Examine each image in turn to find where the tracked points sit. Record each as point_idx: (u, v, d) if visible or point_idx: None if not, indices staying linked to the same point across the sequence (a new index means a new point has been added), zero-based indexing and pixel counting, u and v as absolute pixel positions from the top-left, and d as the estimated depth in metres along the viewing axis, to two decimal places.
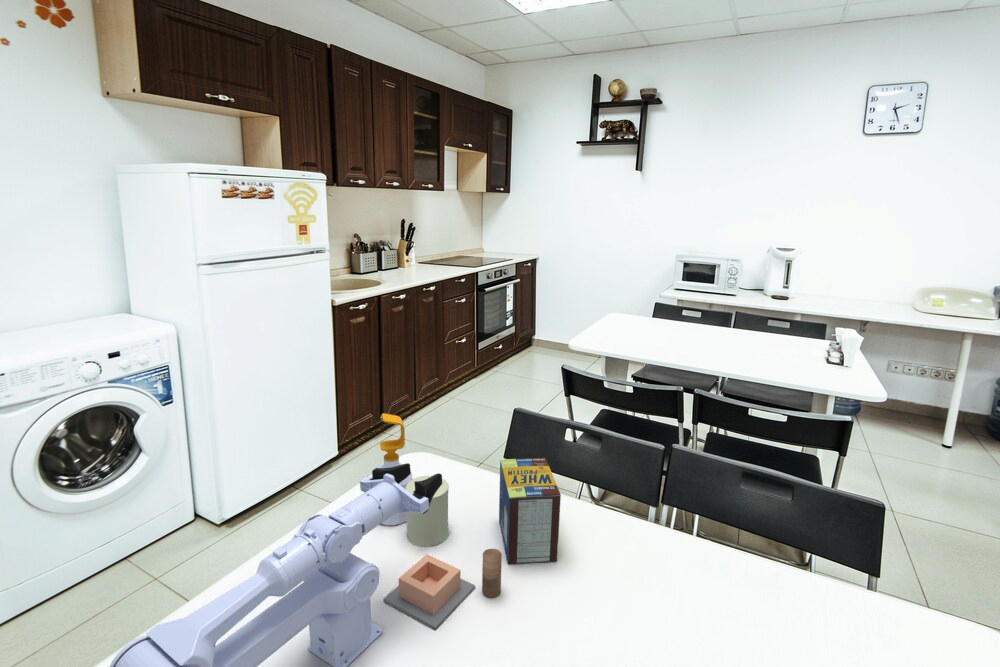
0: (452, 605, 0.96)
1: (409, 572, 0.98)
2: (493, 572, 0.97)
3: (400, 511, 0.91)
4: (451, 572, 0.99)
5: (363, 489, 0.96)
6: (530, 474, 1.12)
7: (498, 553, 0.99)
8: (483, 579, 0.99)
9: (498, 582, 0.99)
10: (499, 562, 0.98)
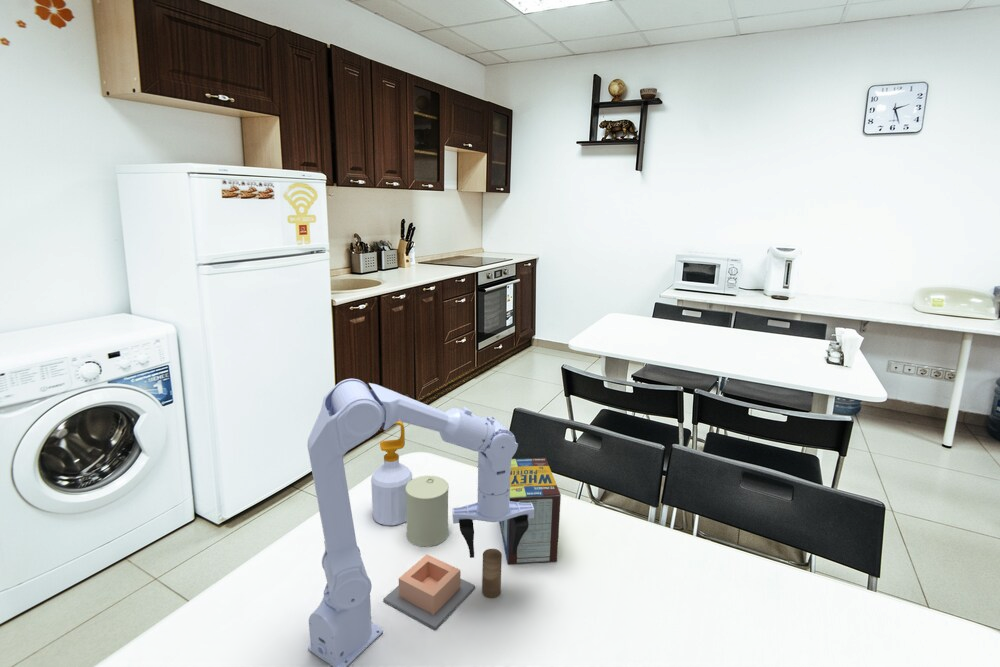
0: (452, 605, 0.96)
1: (409, 572, 0.98)
2: (493, 572, 0.97)
3: (508, 514, 0.94)
4: (451, 572, 0.99)
5: None
6: (530, 474, 1.12)
7: (498, 553, 0.99)
8: (483, 579, 0.99)
9: (498, 582, 0.99)
10: (499, 562, 0.98)
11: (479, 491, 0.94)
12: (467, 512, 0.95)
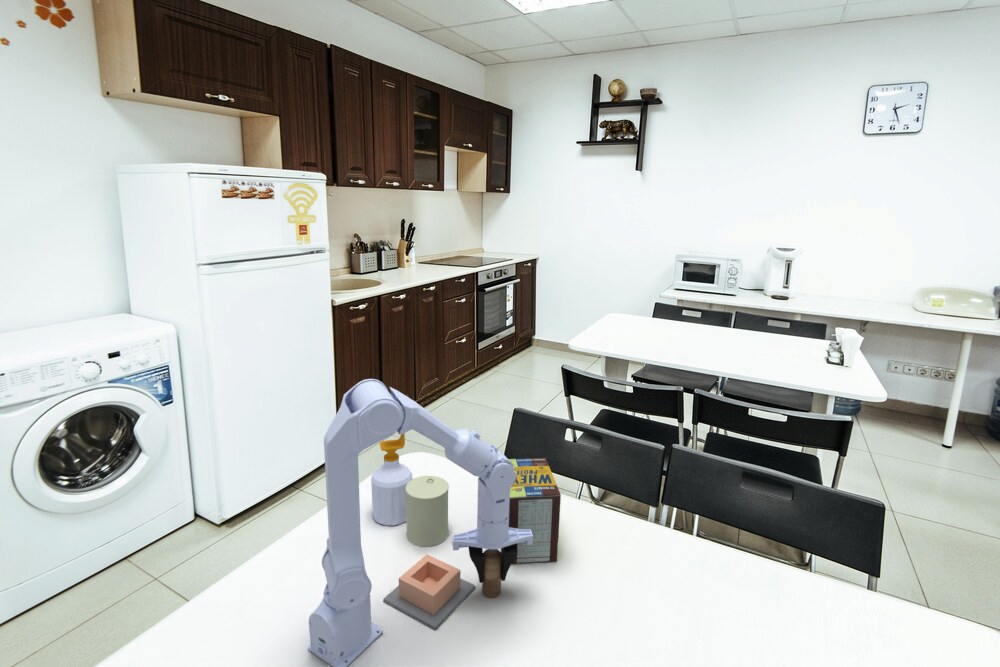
0: (452, 605, 0.96)
1: (409, 572, 0.98)
2: (493, 572, 0.97)
3: (507, 541, 0.96)
4: (451, 572, 0.99)
5: None
6: (530, 474, 1.12)
7: (498, 553, 0.99)
8: (483, 579, 0.99)
9: (498, 582, 0.99)
10: (499, 562, 0.98)
11: (479, 519, 0.95)
12: (467, 539, 0.96)
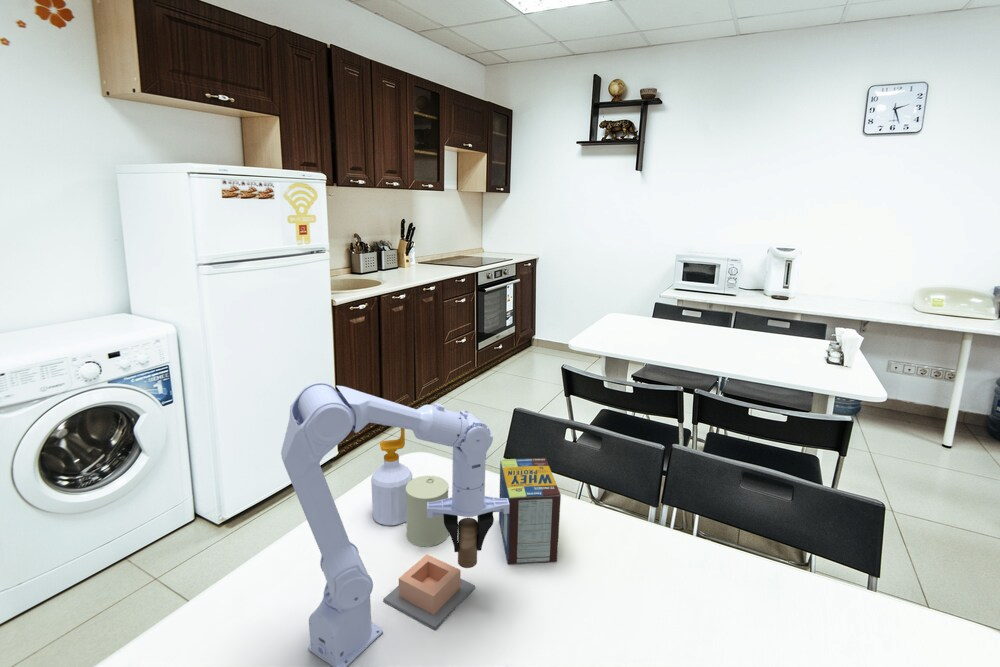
0: (452, 605, 0.96)
1: (409, 572, 0.98)
2: (468, 541, 0.95)
3: (482, 508, 0.93)
4: (451, 572, 0.99)
5: None
6: (530, 474, 1.12)
7: (474, 522, 0.96)
8: (459, 548, 0.97)
9: (474, 552, 0.96)
10: (475, 531, 0.95)
11: (453, 485, 0.93)
12: (441, 506, 0.94)
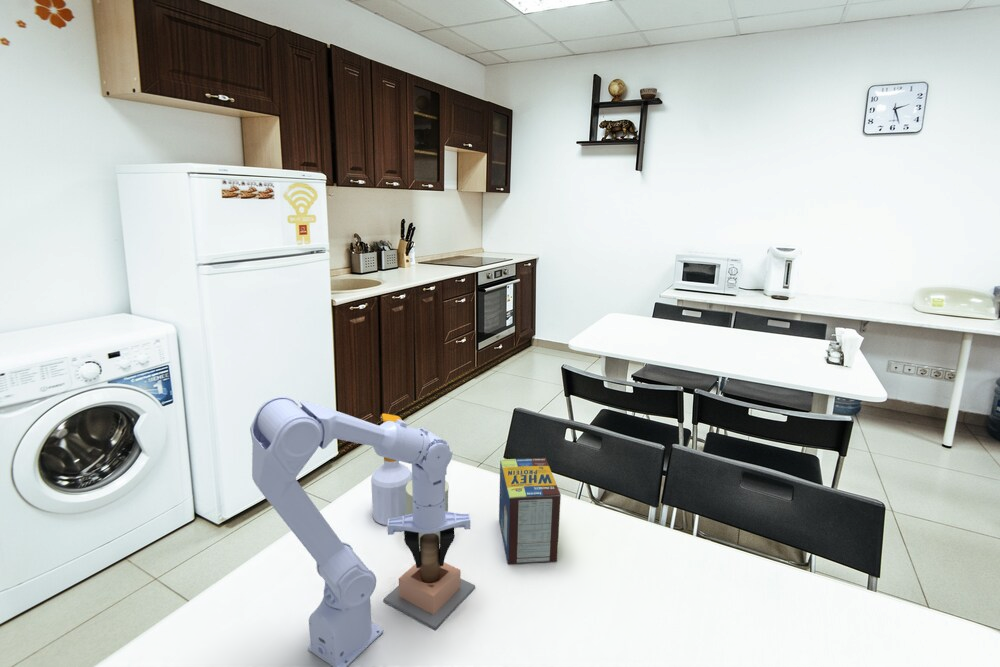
0: (452, 605, 0.96)
1: (409, 572, 0.98)
2: (430, 557, 0.95)
3: (443, 525, 0.94)
4: (451, 572, 0.99)
5: None
6: (530, 474, 1.12)
7: (436, 538, 0.97)
8: (420, 564, 0.97)
9: (436, 567, 0.96)
10: (436, 546, 0.95)
11: (413, 502, 0.93)
12: (402, 523, 0.94)
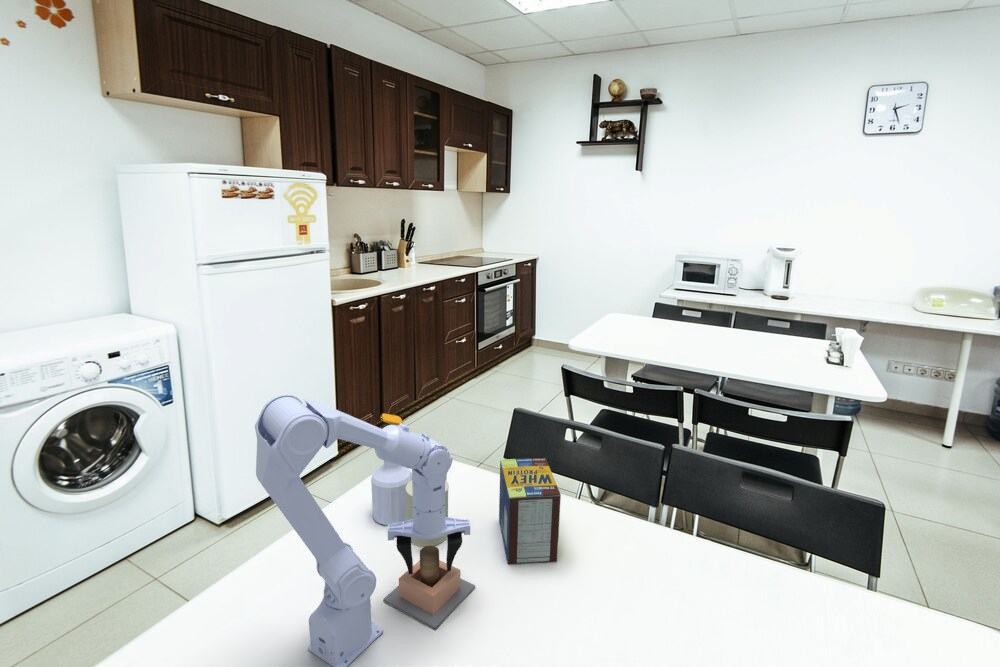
0: (452, 605, 0.96)
1: None
2: (430, 569, 0.96)
3: (443, 531, 0.94)
4: (451, 572, 0.99)
5: None
6: (530, 474, 1.12)
7: (435, 550, 0.97)
8: (421, 576, 0.97)
9: (436, 579, 0.97)
10: (436, 559, 0.96)
11: (413, 508, 0.93)
12: (402, 529, 0.94)
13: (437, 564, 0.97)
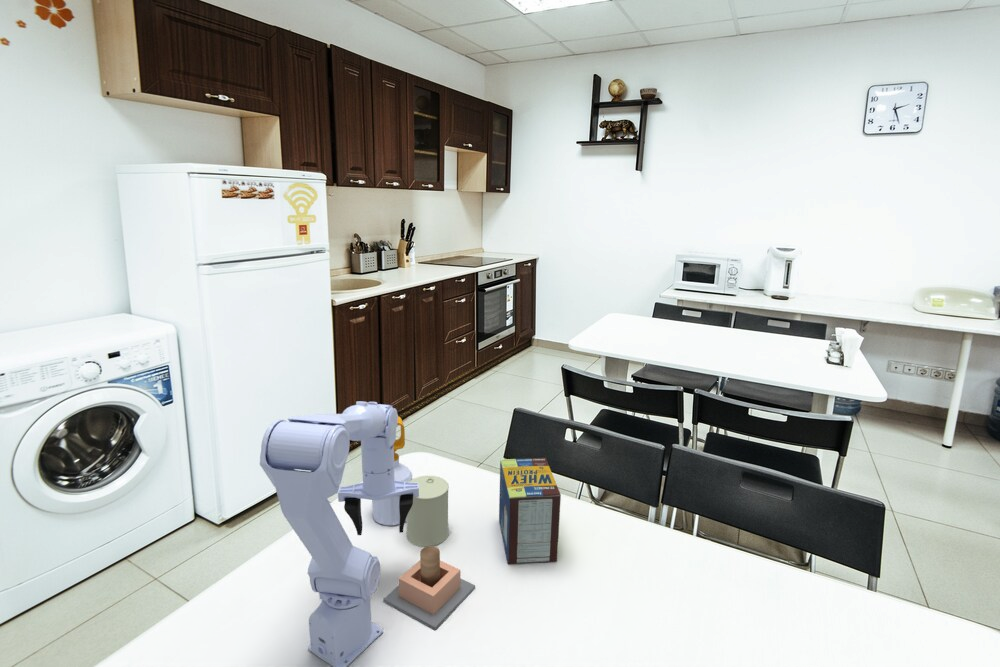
0: (452, 605, 0.96)
1: (409, 572, 0.98)
2: (430, 570, 0.96)
3: (391, 492, 0.97)
4: (451, 572, 0.99)
5: None
6: (530, 474, 1.12)
7: (436, 551, 0.97)
8: (421, 577, 0.97)
9: (436, 580, 0.97)
10: (436, 560, 0.96)
11: (362, 470, 0.97)
12: (352, 491, 0.98)
13: (438, 565, 0.97)
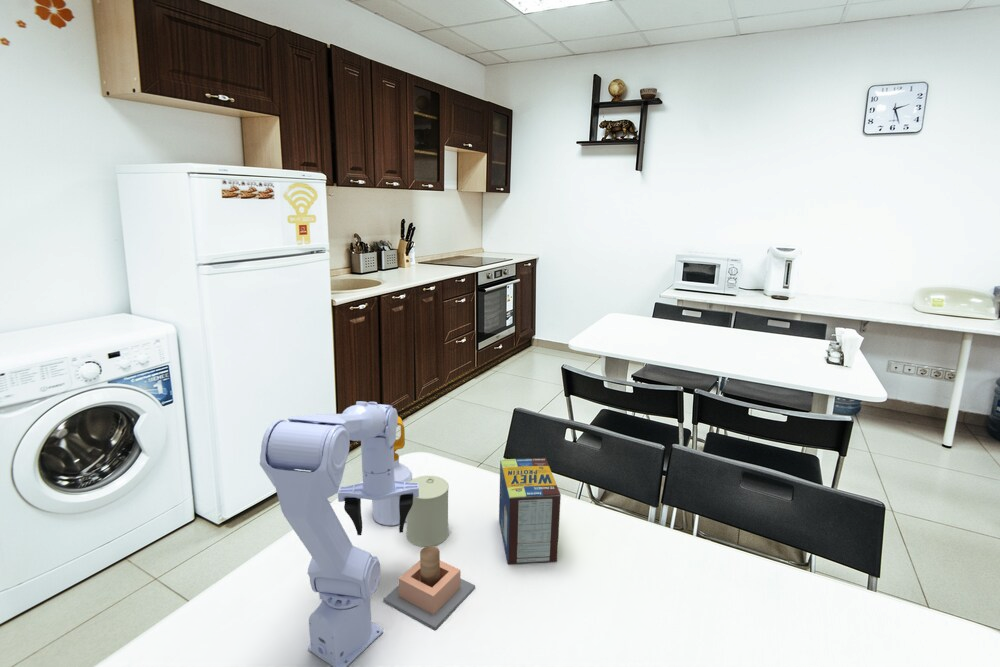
0: (452, 605, 0.96)
1: (409, 572, 0.98)
2: (430, 570, 0.96)
3: (391, 492, 0.97)
4: (451, 572, 0.99)
5: None
6: (530, 474, 1.12)
7: (436, 551, 0.97)
8: (421, 577, 0.97)
9: (436, 580, 0.97)
10: (436, 560, 0.96)
11: (362, 470, 0.97)
12: (352, 491, 0.98)
13: (437, 565, 0.97)
